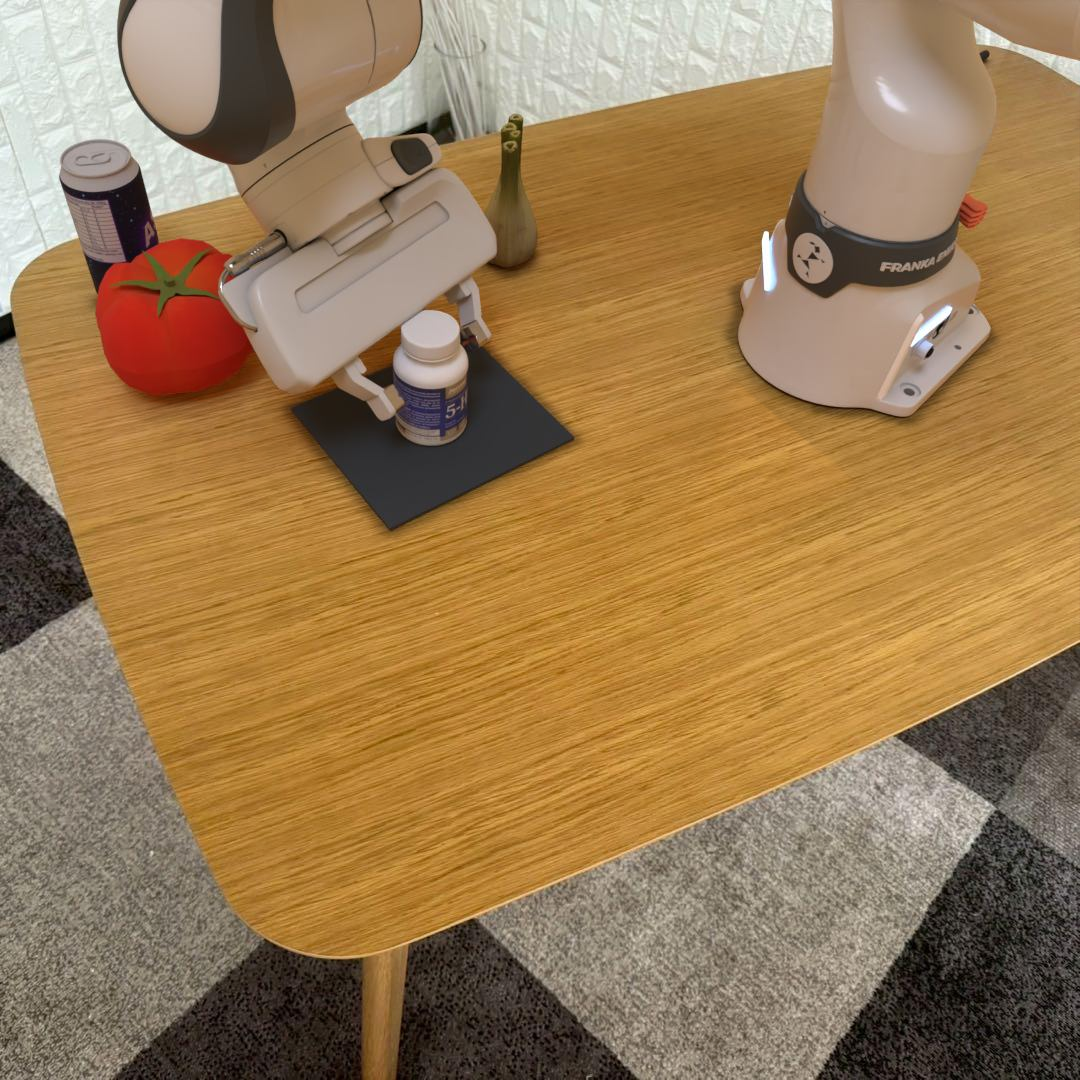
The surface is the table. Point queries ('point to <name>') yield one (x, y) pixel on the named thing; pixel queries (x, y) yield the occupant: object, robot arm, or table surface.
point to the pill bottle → (431, 379)
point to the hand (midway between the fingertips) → (438, 378)
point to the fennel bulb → (511, 202)
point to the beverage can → (107, 204)
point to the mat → (432, 471)
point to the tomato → (170, 320)
